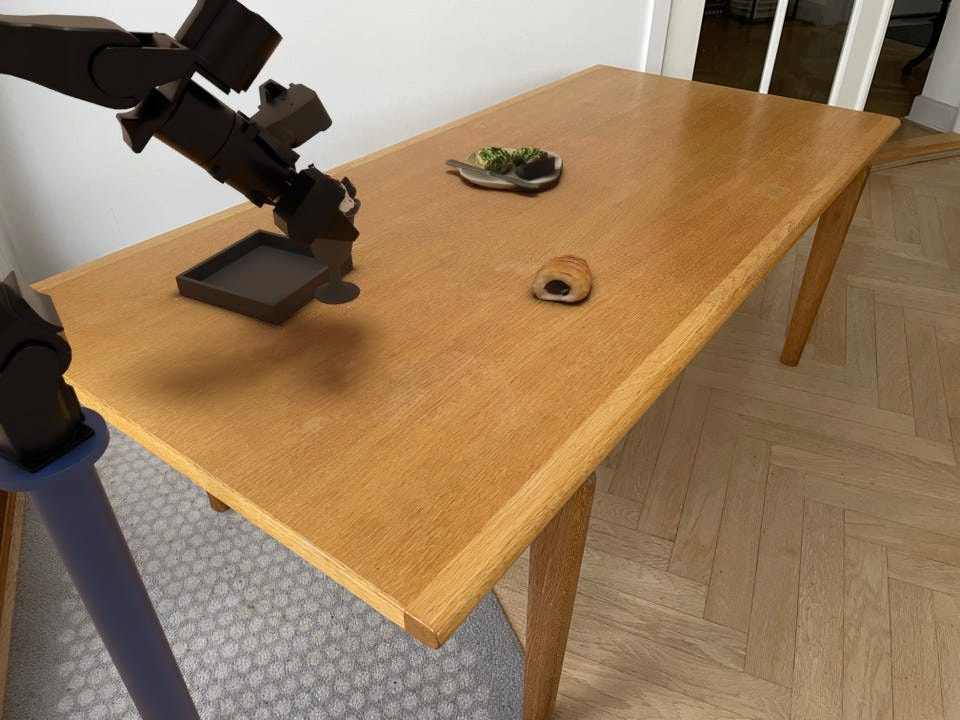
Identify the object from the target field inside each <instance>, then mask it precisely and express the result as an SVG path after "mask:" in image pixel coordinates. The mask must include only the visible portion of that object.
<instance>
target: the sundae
mask: <svg viewBox="0 0 960 720" xmlns="http://www.w3.org/2000/svg"><path fill="white" fill-rule="evenodd" d="M313 167H315V168H316V166H315V163H314V162H312V163H311V164H308V165H307V169H308V168H313ZM324 174H325V173H324ZM325 175H326V176H328V177H329V178H330V179H332V180H333V181H334V182H336V183H337V184H338V185H340V186H341V187H342V188H344V189H345V190H346V194H345V198H344V200H343V201H342V203H341V204H340V205H339V207H338V208H339V209H340V210H341V211H342V213H343V214H344V215H345V216H346V217H347V219H348V220H349V221H350V222H351V223H352V224H353V226H354V227H355V225H354V224H355V216H356V215H357V214H358V213H359V211H360V209H361V205H362V202H361V200H360V199H359V198H356V196H357V192H358V190H357V188H356V186H355V184H354V183H353V182H352V181H351V180H350V179H349V177H348V176H343V178H342V179H341V180H339V179H337V178H335V177H332V176H331V175H330V174H325ZM353 245H354V242H348V241H338V240H328V239H327V240H326V239H315V241H314V242H313V243H312V245H310V246H311V249H312V251H313V254H314V256H315V258H316V259H317V260H319V261H320V262H321V263H323V264H325V265H327V266H328V267H329V272H330V281H329V282H328V283H325V284H322V285H321V286H319V287H318V288H317V289H316V290H315V292H314V298H315V300H316V301H317V302H320V303H321V304H324V305H333V306H338V305H344V304H348V303H351V302H353V301H354V300H356V299H357V298H359V296H360V294H361V288H360V286H358V285H357V284H356V283H353V282H350V281H348V280H347V281H346V280H343V277H341V274H340V265H341V264H342V263H344V262H345V261H346V260H347V259H348V258H349V256H350V255H351V254H352V252H353Z"/></svg>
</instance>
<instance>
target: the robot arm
mask: <svg viewBox="0 0 960 720" xmlns="http://www.w3.org/2000/svg"><path fill="white" fill-rule="evenodd" d="M283 37H284V36H282V34H280V32H279V31H278V30H277V29H276V28H275V27H274V26H273V25H271V23H270V22H269V21H268V20H266V19H265V18H264V17H263V16H262V15H261V14H259V13H258V12H256V11H253V10H251V9H249V8H248V7H246V5H244V4H243V3H241V2H240V1H239V0H196V3H195V5H194V7H193V8H192V10H191V11H190V12H189V13H188V15H187V17H186V18H185V19H184V21H183V23H182V24H181V26H180V27H179V29H178V30H177V32H176V33H175V35H174V36H171V35H169V34H168V33H166V32H159V31H154V32H152V31H151V32H150V31H130V30H127V29H125V28H123V27H122V26H121V25H119V24H118V23H117V22H115V21H113V20H110V19H108V18H105V17H103V16H95V15H77V14H76V15H75V14H73V15H72V14H28V15H27V14H26V15H25V14H24V15H23V14H22V15H21V14H20V15H19V14H4V13H3V14H2V13H0V75H6V76H11V77H14V78H18V79H21V80H24V81H26V82H27V81H28V82H30V83H34V84H36V85H39V86H41V87H44V88H46V89H48V90H50V91H53V92H56V93H59V94H62V95H64V96H67V97H70V98H73V99H76V100H80V101H82V102H83V101H84V102H86V103H90V104H93V105H97V106H98V107H99V106H100V107H102V108H106V109H110V110H116V111H121V110H124V111H125V110H129V111H125V112H117V113H116V114H115V119H116V120H117V122H118V123H119V125H120V128H121V133H122V140H123V142H124V143H125V144H126V145H127V147H128V148H129V149H130V150H131V151H132V152H133V153H134V154H137V155H138V154H141V153H142V152H144V150H145V148H146V147H147V145H148V144H149V142H150V140H151V139H152V138H155V139H157V141H158V140H159V141H160V142H161V143H163V144H164V145H167V147H169V148H171V149H172V150H174V151H175V152H177V153H178V154H180V155H181V156H183V157H185V158H186V159H187V160H189V161H191V162H192V163H193V164H195V165H197V166H198V167H200V168H202V169H203V170H204V171H205V172H206V173H207V174H209V176H211V177H212V179H214V180H215V181H217V182H218V183H220V184H222V185H224V184H226V185H227V186H229V187H231V188H232V189H234V190H235V191H237V192H238V193H240V194H241V195H243V196H244V197H245V198H246V199H247V200H248V201H249V202H250V203H251V204H253V205H254V206H256V207H258V208H259V209H262V208H263V206H264V205H269V206H272V207H273V209H272V210H271V211H272V218H273V224H274V225H275V226H276V227H277V228H278V229H279V230H280V231H281V232H282V234H283V235H286V236H288V237H289V238H290V239H292V240H293V241H295V242H296V243H298V244H300V245H301V246H303V247H304V248H306V247H308V246H310V245H312V243H313V242H314V241H315V239H326V240H327V239H328V240H338V241H348V242H353V243H354V242H356V241H357V240H358V238H359V236H360V235H361V233H360V231H359V230H358V229H357V228H356V226H355V225H354V226H353V224H352V223H351V222H350V221H349V220H348V219H347V217H346V216H345V215H344V214H343V213H342V211H341V210H340V209H339V208H338V207H339V205H340V204H341V203H342V201H343V200H344V198H345V194H346V190H345V189H344V188H342V187H341V186H340V185H338V184H337V183H336V182H334V181H333V180H332V179H330V178H329V177H328V176H326V175H325V173H323V172H322V171H321V170H320V169H318V168H317V167H316V166H315V167H312V168H308V167H307V168H304V169H303V168H302V169H300V170H299V172H298V171H297V168H296V167H297V166H296V164H297V162H298V161H299V160H300V158H301V155H300V154H299V153H298V152H296V151H295V150H296V149H297V148H299V147H301V146H303V145H304V144H306V143H307V142H308V141H310V140H311V139H312V138H314V137H315V136H316V135H318V134H319V133H321V132H323V133H324V132H326V131H327V130H328V129H330V128H331V126H332V125H333V119H332V118H331V116H330V115H329V113H328V110H327V109H326V107H325V106H324V104H323V102H322V100H321V99H320V97H319V95H318V94H317V92H316V91H315V90H314V89H312V88H311V87H308V86H307V85H305V84H303V83H296V84H295V83H293V82H290V83H289V84H288V88H287V87H285V86H284V85H282V84H280V83H279V82H277V81H275V80H273V79H272V78H269V79H267V80H265V82H263V83H261V84H260V85H259V86H258V93H259V100H260V104H259V105H257V109H258V111H256V112H255V113H254V114H253V115H251V116H250V117H249V116H248V115H246V114H245V113H244V112H242V111H241V110H239V109H237V111H235V110H234V109H232V108H231V107H230V106H229V105H228V104H227V103H225V102H224V101H222V100H220V99H219V98H218V97H217V96H215V95H214V94H213V93H212V92H210V91H209V90H207V89H206V88H205V87H203V86H202V85H201V84H199V83H198V82H197V81H195V80H194V79H192V78H193V76H194V75H195V74H196V73H197V74H198V75H199V76H200V77H202V78H203V79H205V81H207V82H208V83H210V84H211V85H212V86H213V87H215V88H216V89H218V90H219V91H221V92H222V93H224V95H226V96H229V95H230V93H231V92H232V91H233V92H235V93H236V94H238V95H240V94H241V92H244V93H245V94H246V93H247V92H248V90H250V88H251V86H252V85H253V84H254V82H255V80H256V79H257V77H258V76H259V74H260V73H261V71H262V70H263V69H264V67H265V65H266V64H267V63H268V62H269V60H270V59H271V57H272V55H273V54H274V53H275V51H276V50H277V48H278V47H279V45H280V44H281V43H282V41H283V39H284V38H283ZM130 109H132V110H130ZM294 149H295V150H294ZM72 361H73V350H72V348H71V345H70V341H69V339H68V337H67V335H66V332H65V327H64V325H63V323H62V320H61V318H60V314H59V313H58V310H57V308H56V306H55V303H54V300H53V298H52V296H51V294H50V295H49V294H47V293H44V292H40V291H39V290H37V289H35V288H33V287H32V286H31V285H30V284H29V283H28V282H26V280H25V279H24V278H23V277H22V276H21V274H19V273H18V272H16V271H15V270H11V271H10V272H9V273H7V275H6V276H5V278H4V279H3V280H2V281H1V280H0V456H1V457H2V458H4V459H6V460H8V461H9V462H11V463H13V464H15V465H16V466H18V467H20V468H22V469H23V470H25V471H27V472H29V473H31V474H33V473H37V472H39V471H40V470H42V469H43V468H45V467H46V466H48V465H49V464H51V463H52V462H54V461H55V460H57V459H58V458H60V457H62V456H63V455H65V454H66V453H68V452H69V451H71V450H72V449H74V448H75V447H77V446H78V445H80V444H81V443H83V442H84V441H86V440H87V439H89V438H90V437H92V436H93V435H95V430H94V428H92V427H90V426H88V425H86V424H84V423H82V422H84V421H85V419H86V417H85V415H84V412H83V410H82V407H83V406H82V405H81V403H80V400H79V397H78V394H77V393H76V390H75V387H74V386H73V385H71V384H70V383H68V382H66V380H65V378H64V375H65V373H66V372H67V371H68V370H69V368H70V366H71V363H72Z"/></svg>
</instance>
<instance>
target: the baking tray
mask: <svg viewBox="0 0 960 720" xmlns="http://www.w3.org/2000/svg"><path fill="white" fill-rule="evenodd" d="M352 254H353V253H351V255H350V256H349V258H348V259H347V260H346V261H345V262H344V263H342V264H341V265H340V274H341V278H343V277H344V276H346V275H347V274H348V273H350V272H351V271H352V270H354V263H353V255H352ZM329 281H330V272H329V267H328V266H327V265H325V264H323V263H321V262H320V261H319V260H317V259H316V258H315V256H314V254H313V251H312V249H311V246H308V247H306V248H304V247H303V246H301V245H300V244H298V243H296V242H295V241H293V240H292V239H290V238H289V237H288V236H287V235H285V234H283V233H282V234H281V233H277V232H275V231H274V232H273V231H269V230H265V229H260V228H258V229H257V230H255V231H252V232H251V233H249V234H247V235H246V236H244V237H242V238H240V239H239V240H237V241H235V242H234V243H231V244H230V245H228V246H226V247H224V248H223V249H221V250H220V251H218V252H216V253H214V254H212V255H210V256H209V257H207V258H206V259H204V260H202V261H201V262H199V263H196V264H195V265H193V266H192V267H189V268H188V269H186V270H185V271H182V272H181V273H179V274H177V275H176V276H175V282H176V286H177V289H178V293H179V295H180V296H182V297H183V296H184V297H187V298H190V299H193V300H196V301H200V302H203V303H205V304H210V305H213V306H215V307H219V308H222V309H226V310H230V311H232V312H236V313H239V314H242V315H246V316H248V317H251V318H254V319H258V320H262V321H264V322H268V323H271V324H274V325H279V324H280V323H282V322H283V321H284V320H285V319H287V318H288V317H290V316H291V315H292V314H293V313H295V312H297V311H298V310H299V309H301V308H302V307H303V306H305V305H306V304H307V303H309V302H310V301H311V300H313V299H314V298H315V297H314V292H315V290H316V289H317V288H318V287H319V286H321V285H322V284H325V283H328V282H329Z"/></svg>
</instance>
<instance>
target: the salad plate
mask: <svg viewBox="0 0 960 720" xmlns="http://www.w3.org/2000/svg"><path fill="white" fill-rule="evenodd" d="M444 164H445V165H446V166H448V167H450V168H453V169H455V170H456V171H458V172H459V175H460V176H461V177H462V178H464V179H465V180H467V181H469V182H470V183H473V184H475V185H478V186H481V187H482V188H483V187H484V188H488V189H497V190H505V191H512V192H527V193H533V192H541V191H545V190H548V189H551V188H552V187H553V186H554V185H555V184H556V183H557V182H558V180H559V178H560V175H561V172H562V169H563V167H564V160H563V158H562V156H561V155H559V154H558V153H557V152H553V151H550V150H547V149H546V150H545V149H541V148H536V147H532V146H529V148H528V147H526V146H524V147H521V148H509V147H501V146H500V147H499V146H489V145H488V146H486V147H482V148H479V149H476V150H473V151H472V152H470V153H469V155H468V156H467V157H466V159H465V161H464V162H462V161H459V160H456V159H452V158H449V159H446V160H445V163H444Z"/></svg>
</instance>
